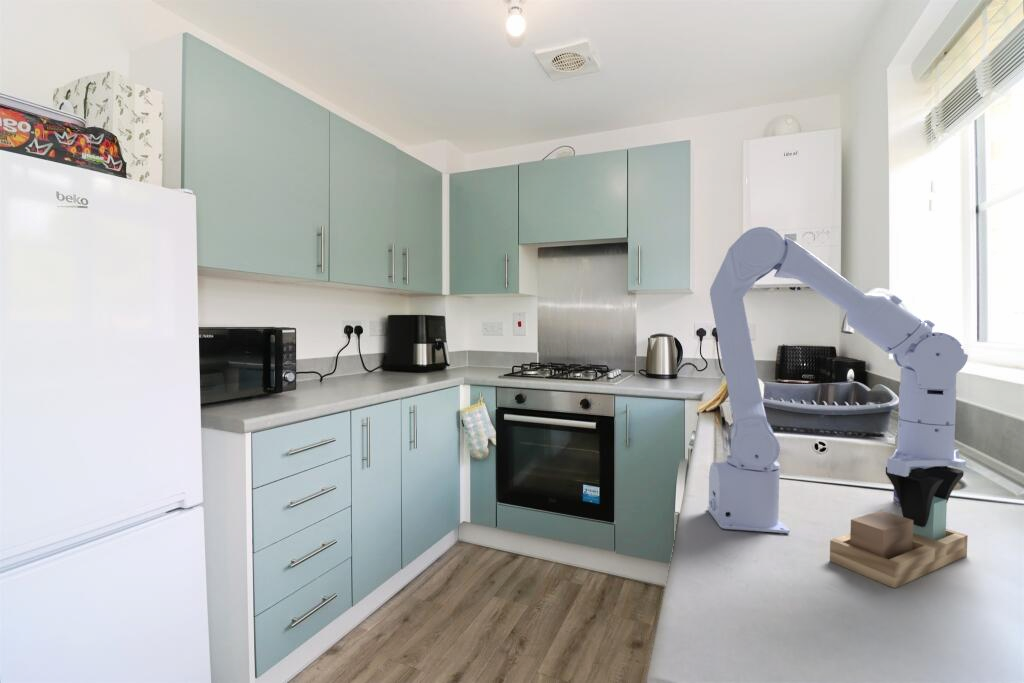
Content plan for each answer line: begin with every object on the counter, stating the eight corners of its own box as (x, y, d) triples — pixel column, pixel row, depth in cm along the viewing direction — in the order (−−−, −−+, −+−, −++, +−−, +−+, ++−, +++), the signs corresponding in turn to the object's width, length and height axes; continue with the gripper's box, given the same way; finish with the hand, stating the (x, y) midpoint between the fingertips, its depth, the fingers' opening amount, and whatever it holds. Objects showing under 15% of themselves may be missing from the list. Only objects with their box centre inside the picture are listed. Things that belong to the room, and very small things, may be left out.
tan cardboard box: (882, 567, 55) (883, 530, 55) (849, 555, 58) (850, 519, 58) (912, 555, 58) (913, 520, 58) (880, 544, 61) (881, 510, 61)
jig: (894, 588, 53) (895, 565, 53) (829, 560, 59) (830, 539, 59) (966, 555, 61) (967, 535, 61) (903, 534, 67) (903, 515, 67)
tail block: (932, 541, 60) (934, 503, 60) (900, 531, 64) (901, 495, 63) (945, 536, 62) (946, 499, 62) (913, 526, 65) (914, 491, 65)
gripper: (937, 431, 56) (933, 544, 56) (989, 422, 62) (986, 523, 62) (870, 421, 62) (867, 522, 62) (924, 413, 68) (921, 505, 69)
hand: (922, 521), depth 63 cm, fingers closed on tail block, 3 cm apart
